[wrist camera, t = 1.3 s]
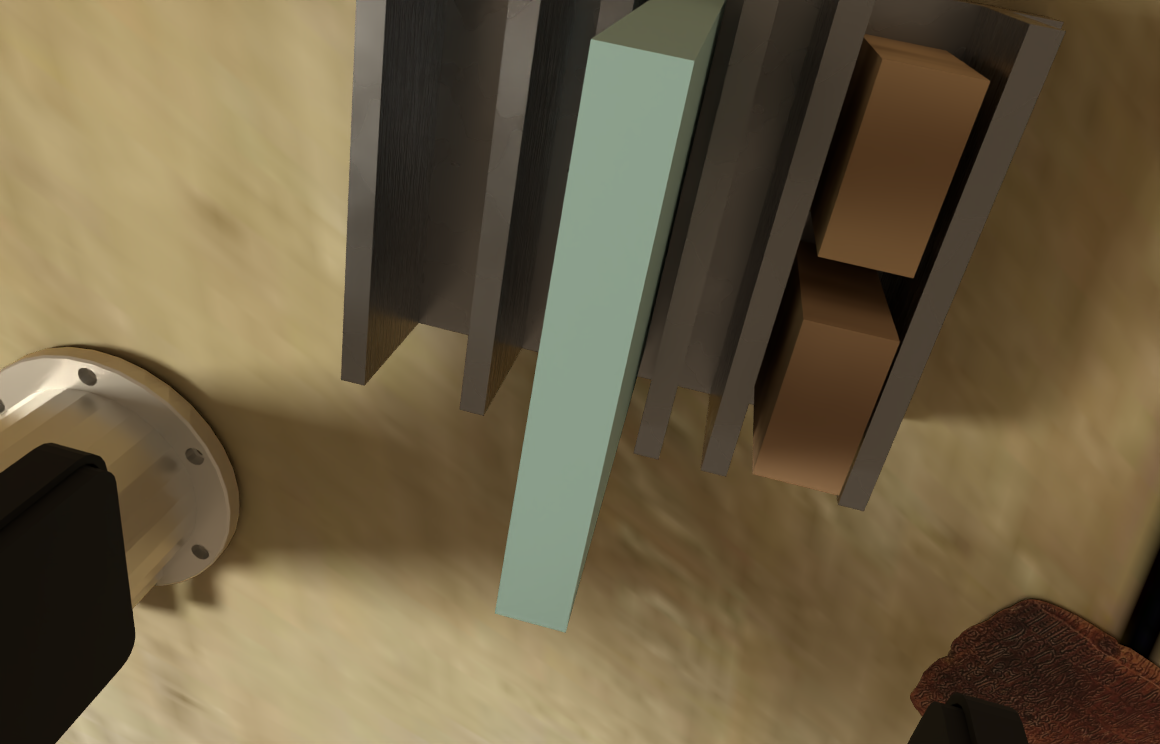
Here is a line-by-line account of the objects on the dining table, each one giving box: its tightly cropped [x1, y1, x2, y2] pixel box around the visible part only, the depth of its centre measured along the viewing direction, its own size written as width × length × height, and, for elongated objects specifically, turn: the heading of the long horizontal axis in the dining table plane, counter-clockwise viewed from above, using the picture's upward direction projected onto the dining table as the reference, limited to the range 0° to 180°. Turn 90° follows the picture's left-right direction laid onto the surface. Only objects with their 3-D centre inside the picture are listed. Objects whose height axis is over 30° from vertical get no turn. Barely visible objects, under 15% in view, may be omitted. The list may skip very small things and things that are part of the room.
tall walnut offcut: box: [752, 240, 900, 496], centre depth 26 cm, size 5×2×6 cm, turn 170°
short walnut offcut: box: [810, 34, 990, 278], centre depth 24 cm, size 5×2×6 cm, turn 170°
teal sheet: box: [495, 0, 727, 633], centre depth 22 cm, size 12×2×14 cm, turn 170°
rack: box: [341, 0, 1066, 511], centre depth 27 cm, size 14×20×6 cm
